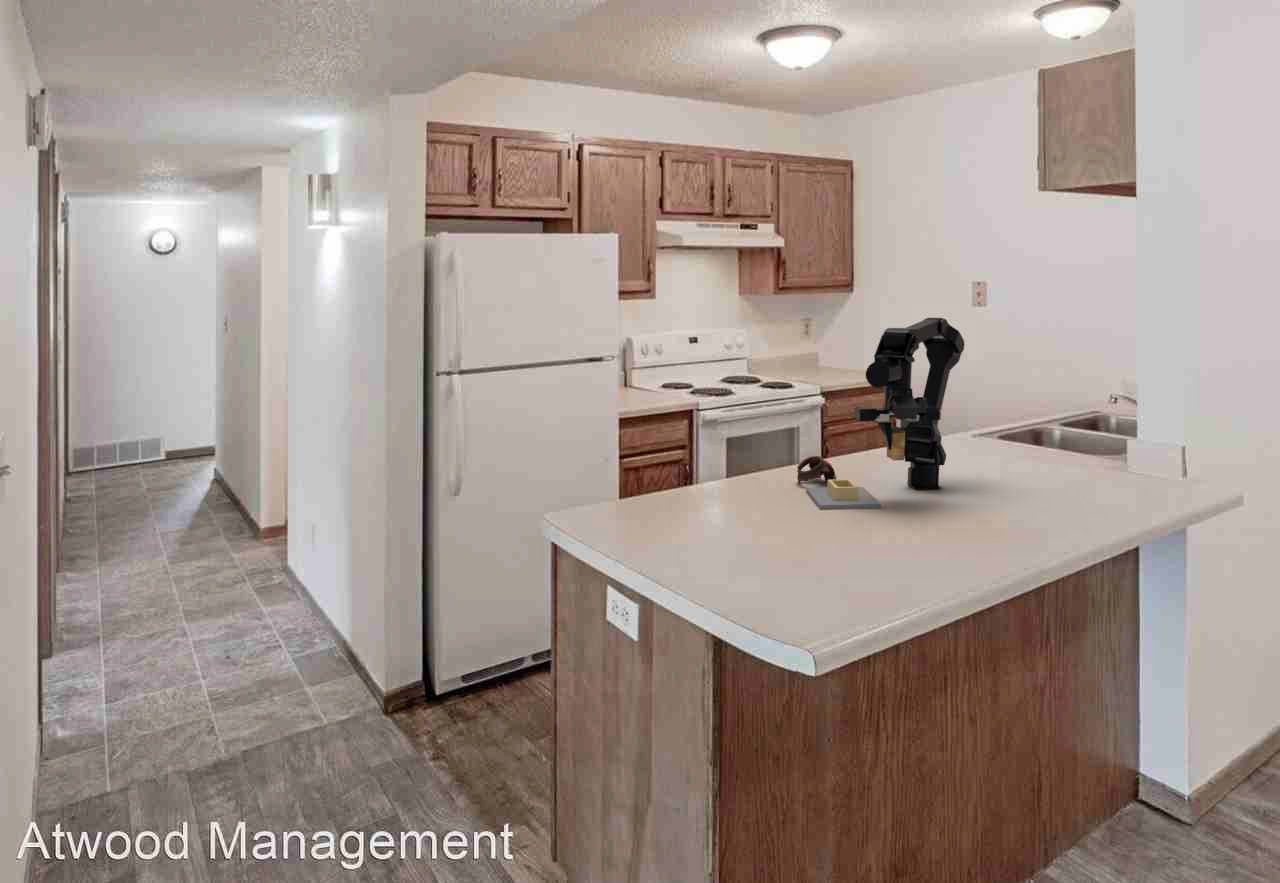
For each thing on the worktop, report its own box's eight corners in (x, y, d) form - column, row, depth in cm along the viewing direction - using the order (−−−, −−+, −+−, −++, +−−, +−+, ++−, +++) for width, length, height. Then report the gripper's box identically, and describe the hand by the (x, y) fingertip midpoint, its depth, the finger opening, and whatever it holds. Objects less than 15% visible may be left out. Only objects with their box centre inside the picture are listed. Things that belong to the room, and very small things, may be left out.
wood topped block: (897, 455, 205) (898, 426, 204) (904, 460, 200) (905, 430, 199) (886, 456, 205) (887, 427, 204) (893, 460, 200) (894, 430, 199)
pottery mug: (842, 489, 217) (829, 464, 214) (808, 505, 219) (794, 479, 216) (835, 467, 228) (822, 442, 225) (802, 482, 230) (789, 457, 227)
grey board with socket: (862, 490, 213) (863, 475, 213) (881, 508, 198) (881, 491, 197) (806, 492, 213) (806, 476, 213) (819, 509, 198) (820, 492, 197)
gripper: (867, 388, 191) (865, 457, 194) (951, 386, 192) (947, 455, 194) (854, 382, 202) (852, 447, 205) (933, 380, 203) (930, 446, 205)
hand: (895, 449), depth 202 cm, fingers closed on wood topped block, 2 cm apart
